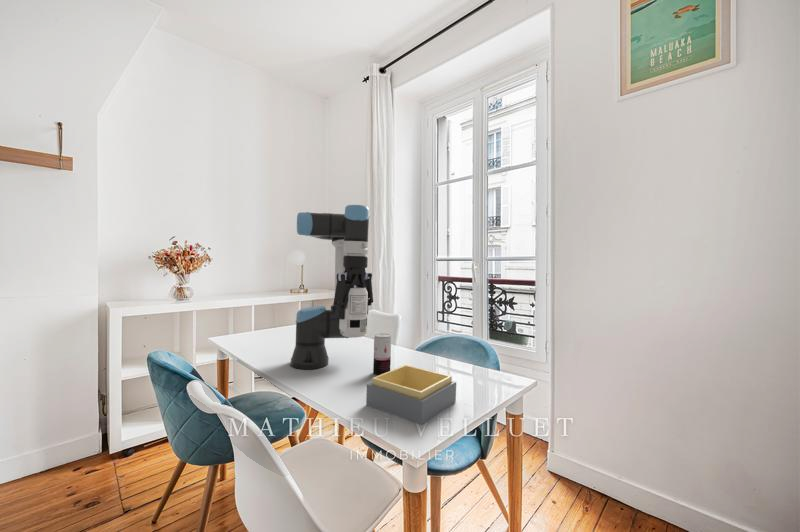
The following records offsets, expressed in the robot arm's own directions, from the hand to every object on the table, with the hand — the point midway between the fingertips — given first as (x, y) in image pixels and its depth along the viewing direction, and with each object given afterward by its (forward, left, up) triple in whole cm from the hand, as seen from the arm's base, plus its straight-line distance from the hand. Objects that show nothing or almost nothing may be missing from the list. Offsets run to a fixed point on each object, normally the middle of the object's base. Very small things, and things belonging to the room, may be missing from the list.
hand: (353, 327), depth 112 cm
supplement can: (0, 0, -3) cm, 3 cm away
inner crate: (+18, +8, -22) cm, 29 cm away
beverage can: (-8, +25, -23) cm, 35 cm away
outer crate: (+18, +8, -23) cm, 30 cm away
